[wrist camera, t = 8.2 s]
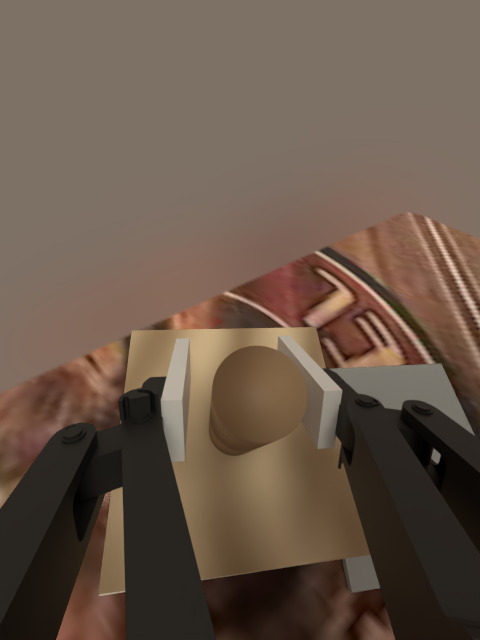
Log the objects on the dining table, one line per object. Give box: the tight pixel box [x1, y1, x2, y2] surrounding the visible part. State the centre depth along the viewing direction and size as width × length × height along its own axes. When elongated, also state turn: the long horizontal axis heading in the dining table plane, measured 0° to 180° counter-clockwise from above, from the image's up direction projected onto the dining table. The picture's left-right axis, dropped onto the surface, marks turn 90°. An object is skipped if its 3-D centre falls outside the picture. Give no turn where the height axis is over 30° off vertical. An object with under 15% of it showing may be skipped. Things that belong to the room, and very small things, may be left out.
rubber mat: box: [330, 364, 475, 593], centre depth 24 cm, size 15×16×1 cm
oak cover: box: [98, 327, 370, 594], centre depth 14 cm, size 14×14×11 cm
